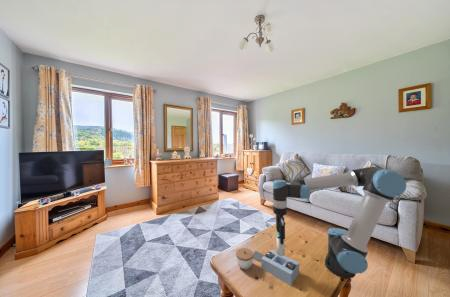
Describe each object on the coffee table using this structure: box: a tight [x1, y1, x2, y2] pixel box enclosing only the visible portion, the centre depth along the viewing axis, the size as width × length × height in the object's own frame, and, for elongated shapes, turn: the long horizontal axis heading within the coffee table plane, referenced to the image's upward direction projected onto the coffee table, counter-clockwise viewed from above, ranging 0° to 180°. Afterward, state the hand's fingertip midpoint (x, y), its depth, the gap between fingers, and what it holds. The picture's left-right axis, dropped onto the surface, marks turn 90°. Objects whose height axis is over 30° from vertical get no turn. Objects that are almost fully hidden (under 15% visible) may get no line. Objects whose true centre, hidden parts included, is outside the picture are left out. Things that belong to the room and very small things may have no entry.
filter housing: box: [260, 249, 300, 286], centre depth 97 cm, size 12×18×6 cm, turn 46°
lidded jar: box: [235, 247, 254, 270], centre depth 101 cm, size 11×11×9 cm
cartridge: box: [275, 232, 286, 256], centre depth 97 cm, size 5×5×11 cm
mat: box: [253, 250, 265, 262], centre depth 109 cm, size 7×7×1 cm
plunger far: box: [266, 251, 272, 259], centre depth 101 cm, size 3×3×4 cm
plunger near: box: [288, 262, 294, 271], centre depth 92 cm, size 3×3×4 cm
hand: (280, 245), depth 97 cm, fingers closed on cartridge, 5 cm apart
